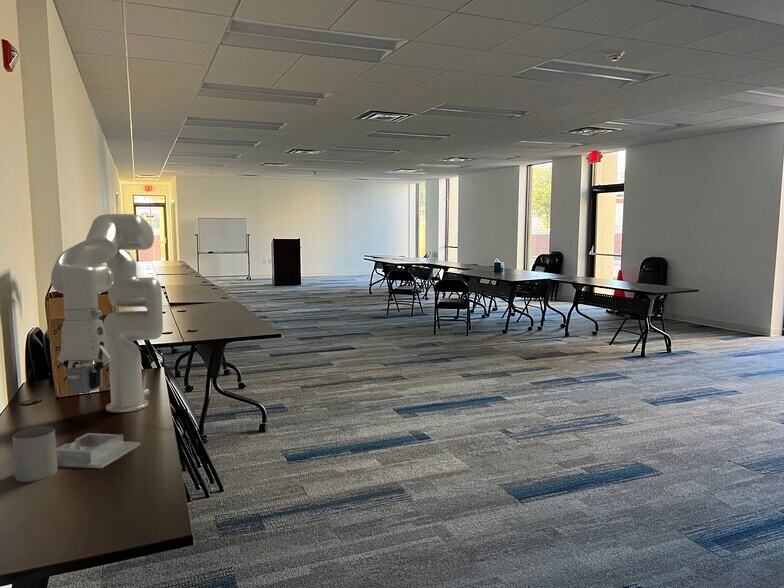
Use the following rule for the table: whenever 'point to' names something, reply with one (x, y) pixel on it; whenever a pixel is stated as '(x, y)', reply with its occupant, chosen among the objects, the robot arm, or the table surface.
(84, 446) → the board
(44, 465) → the cup
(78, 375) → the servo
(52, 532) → the table surface
